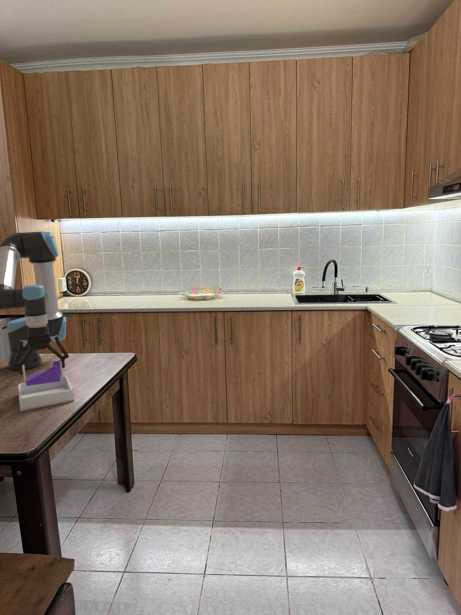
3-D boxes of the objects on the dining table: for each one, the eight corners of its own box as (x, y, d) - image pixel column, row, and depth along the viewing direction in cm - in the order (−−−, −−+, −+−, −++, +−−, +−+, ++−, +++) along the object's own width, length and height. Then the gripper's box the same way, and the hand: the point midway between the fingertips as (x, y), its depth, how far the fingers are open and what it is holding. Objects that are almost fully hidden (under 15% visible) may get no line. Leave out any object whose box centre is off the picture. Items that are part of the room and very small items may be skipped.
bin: (19, 394, 178) (18, 384, 178) (68, 386, 186) (67, 375, 185) (20, 411, 162) (19, 399, 161) (74, 401, 170) (72, 389, 169)
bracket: (60, 376, 178) (58, 359, 176) (60, 381, 171) (58, 364, 170) (28, 380, 174) (26, 363, 173) (26, 386, 167) (24, 368, 166)
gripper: (1, 331, 160) (8, 388, 164) (72, 323, 171) (78, 376, 175) (1, 328, 167) (8, 382, 171) (70, 319, 177) (75, 371, 181)
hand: (43, 379), depth 173 cm, fingers closed on bracket, 12 cm apart
